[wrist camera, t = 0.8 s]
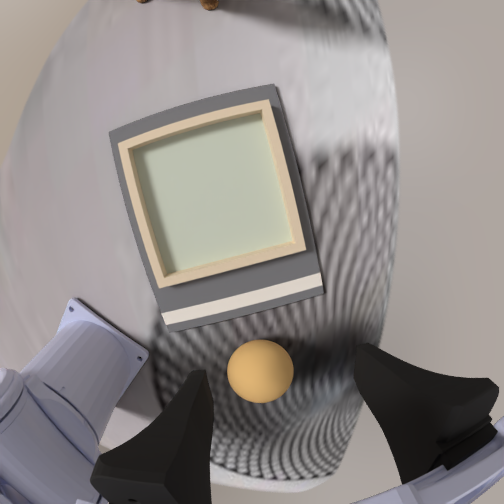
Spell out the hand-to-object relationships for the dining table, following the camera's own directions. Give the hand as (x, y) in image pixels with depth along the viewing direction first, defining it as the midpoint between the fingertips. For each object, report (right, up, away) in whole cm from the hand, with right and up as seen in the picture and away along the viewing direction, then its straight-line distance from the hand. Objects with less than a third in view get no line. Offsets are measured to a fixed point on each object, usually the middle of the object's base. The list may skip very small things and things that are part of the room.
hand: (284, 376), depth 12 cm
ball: (-1, -3, +7) cm, 8 cm away
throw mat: (-4, +8, +7) cm, 11 cm away
